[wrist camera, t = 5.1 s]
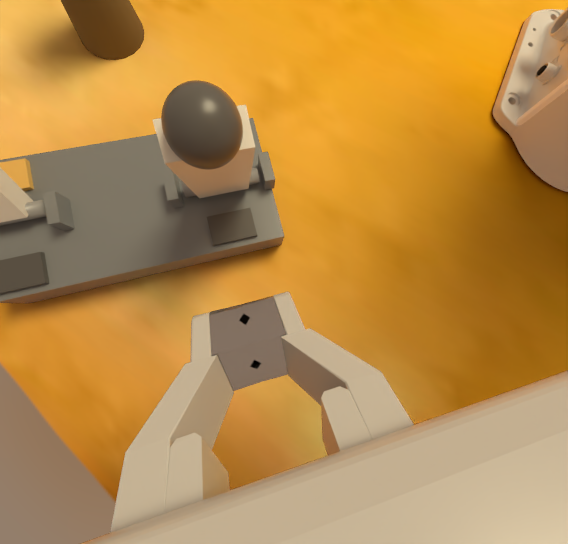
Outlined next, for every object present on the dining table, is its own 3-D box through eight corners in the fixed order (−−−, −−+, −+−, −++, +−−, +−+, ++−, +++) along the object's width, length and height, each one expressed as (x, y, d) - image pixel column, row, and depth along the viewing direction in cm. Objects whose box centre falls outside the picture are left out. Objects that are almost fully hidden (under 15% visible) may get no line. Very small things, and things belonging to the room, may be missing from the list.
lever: (261, 196, 23) (288, 141, 10) (190, 210, 22) (124, 171, 9) (252, 157, 22) (269, 49, 10) (179, 171, 21) (93, 73, 9)
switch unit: (283, 244, 25) (288, 230, 21) (0, 310, 22) (-66, 310, 18) (255, 138, 26) (254, 103, 22) (-18, 187, 23) (-84, 157, 19)
